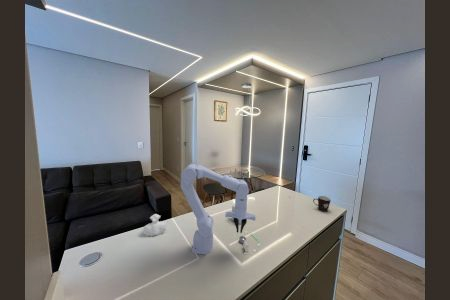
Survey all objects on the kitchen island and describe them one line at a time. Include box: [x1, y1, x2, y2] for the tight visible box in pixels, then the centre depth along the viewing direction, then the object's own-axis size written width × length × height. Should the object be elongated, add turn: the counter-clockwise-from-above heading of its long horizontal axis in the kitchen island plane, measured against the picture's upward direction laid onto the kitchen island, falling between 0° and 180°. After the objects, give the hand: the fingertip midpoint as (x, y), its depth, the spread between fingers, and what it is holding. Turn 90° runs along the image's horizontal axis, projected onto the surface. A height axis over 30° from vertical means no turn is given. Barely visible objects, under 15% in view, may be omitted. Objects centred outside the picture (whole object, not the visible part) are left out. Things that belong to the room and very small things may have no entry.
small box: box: [231, 204, 242, 225], centre depth 109 cm, size 8×6×10 cm
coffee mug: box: [312, 195, 332, 213], centre depth 131 cm, size 12×9×10 cm
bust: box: [143, 213, 168, 237], centre depth 95 cm, size 12×8×11 cm
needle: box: [238, 236, 250, 253], centre depth 86 cm, size 9×4×4 cm, turn 10°
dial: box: [243, 230, 261, 255], centre depth 90 cm, size 18×18×1 cm
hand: (239, 231), depth 82 cm, fingers closed
